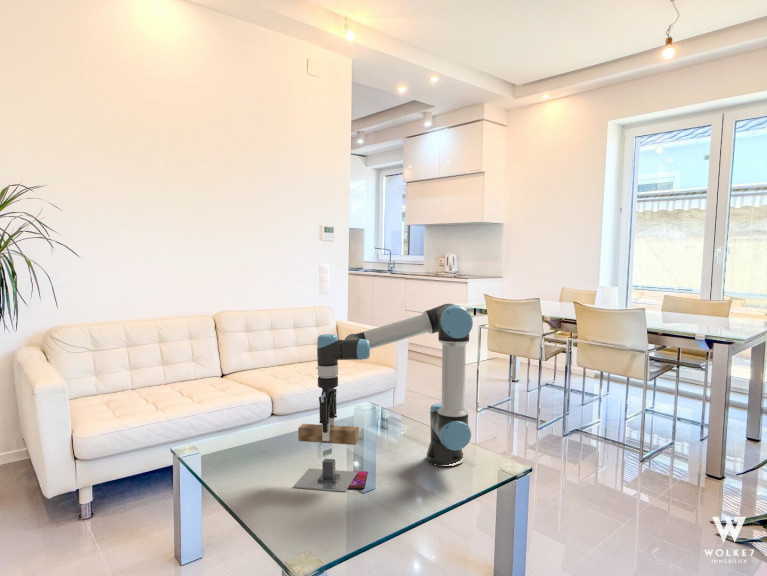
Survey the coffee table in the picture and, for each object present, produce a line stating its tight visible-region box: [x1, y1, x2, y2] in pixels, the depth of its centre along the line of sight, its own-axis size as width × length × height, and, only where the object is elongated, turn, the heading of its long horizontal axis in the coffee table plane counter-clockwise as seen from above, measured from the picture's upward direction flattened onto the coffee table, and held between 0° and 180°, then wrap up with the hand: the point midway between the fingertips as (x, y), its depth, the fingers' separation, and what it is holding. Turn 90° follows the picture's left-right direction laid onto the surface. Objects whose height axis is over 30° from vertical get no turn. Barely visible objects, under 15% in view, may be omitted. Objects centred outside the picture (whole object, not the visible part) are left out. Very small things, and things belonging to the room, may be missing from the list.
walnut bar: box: [297, 423, 360, 446], centre depth 180 cm, size 22×5×5 cm, turn 78°
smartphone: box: [347, 470, 369, 491], centre depth 180 cm, size 8×1×15 cm
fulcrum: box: [292, 458, 358, 493], centre depth 180 cm, size 20×16×8 cm
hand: (328, 437), depth 180 cm, fingers closed on walnut bar, 5 cm apart
